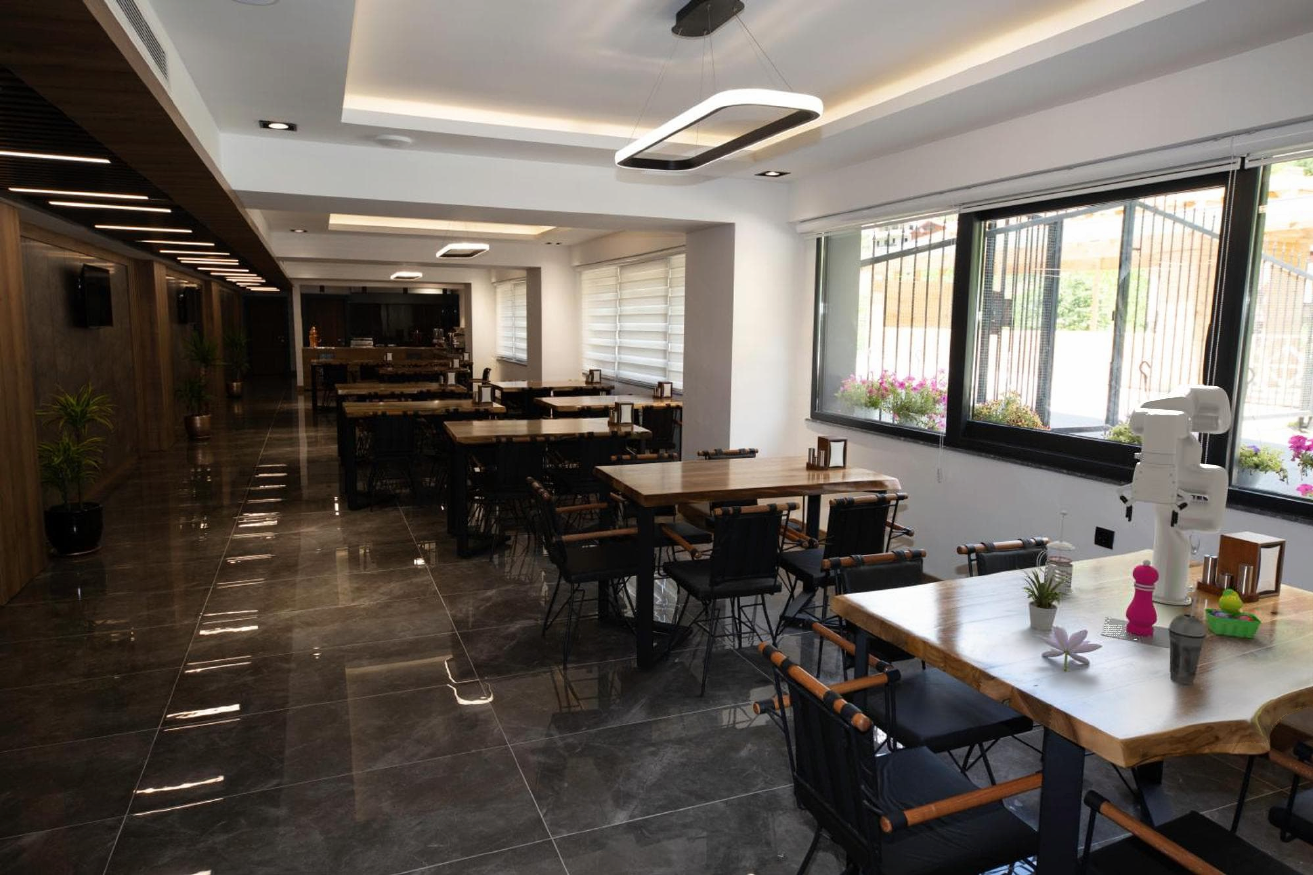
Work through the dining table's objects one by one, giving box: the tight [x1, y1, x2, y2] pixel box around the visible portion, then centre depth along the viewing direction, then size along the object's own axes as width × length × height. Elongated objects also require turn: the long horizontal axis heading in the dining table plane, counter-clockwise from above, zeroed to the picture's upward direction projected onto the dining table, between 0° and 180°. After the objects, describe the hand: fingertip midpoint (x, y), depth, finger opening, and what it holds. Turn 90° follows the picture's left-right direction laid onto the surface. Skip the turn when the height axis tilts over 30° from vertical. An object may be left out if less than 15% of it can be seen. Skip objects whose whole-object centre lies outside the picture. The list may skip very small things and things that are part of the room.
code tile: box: [1100, 616, 1170, 649], centre depth 217 cm, size 17×17×1 cm
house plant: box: [1016, 567, 1071, 631], centre depth 219 cm, size 14×14×16 cm
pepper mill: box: [1125, 559, 1159, 636], centre depth 216 cm, size 7×7×20 cm
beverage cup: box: [1168, 595, 1207, 685], centre depth 185 cm, size 7×7×20 cm
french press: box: [1036, 510, 1076, 594], centre depth 253 cm, size 10×12×25 cm
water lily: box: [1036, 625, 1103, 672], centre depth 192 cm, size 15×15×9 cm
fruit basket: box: [1204, 588, 1262, 639], centre depth 219 cm, size 11×9×11 cm
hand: (1150, 523), depth 213 cm, fingers open, 9 cm apart
